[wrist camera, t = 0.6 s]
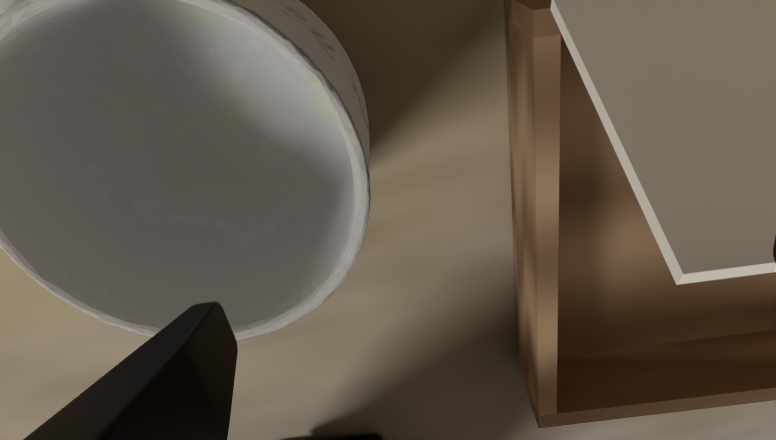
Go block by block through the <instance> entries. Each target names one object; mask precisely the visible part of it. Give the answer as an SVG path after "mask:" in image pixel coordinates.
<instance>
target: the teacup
mask: <svg viewBox="0 0 776 440" xmlns="http://www.w3.org/2000/svg"><path fill="white" fill-rule="evenodd" d="M0 13H1V15H0V247H1V248H2V249H3V250H4V251H5V252H6V253H7V255H8V256H9V257H10V258H11V259H12V260H13V261H14V262H15V263H16V264H17V265H18V266H19V267H20V268H21V269H23V270H24V271H25V272H26V273H27V274H28V275H29V276H30V277H31V278H33V279H34V280H35V281H36V282H38V283H39V284H40V285H41V286H42V287H44V288H45V289H46V290H48V291H49V292H51V293H53V294H54V295H56V296H57V297H59V298H60V299H62V300H64V301H65V302H67V303H68V304H70V305H72V306H73V307H75V308H77V309H78V310H80V311H82V312H85V313H87V314H89V315H91V316H93V317H95V318H97V319H99V320H101V321H103V322H106V323H108V324H110V325H113V326H116V327H119V328H122V329H125V330H128V331H131V332H134V333H138V334H142V335H145V336H149V337H153V336H154V335H155V334H157V333H158V332H159V331H160V330H162V329H163V328H164V327H166V326H167V325H168V324H169V323H171V322H172V321H173V320H174V319H176V318H177V317H178V316H179V315H181V314H182V313H183V312H184V311H186V310H187V309H188V308H189V307H191V306H192V305H194V304H199V303H205V302H211V301H217V302H219V303H220V304H221V305H222V307H223V309H224V311H225V314H226V316H227V319H228V321H229V323H230V326H231V328H232V331H233V333H234V336H235V338H236V340H237V339H245V338H248V337H252V336H256V335H260V334H264V333H268V332H272V331H275V330H279V329H282V328H284V327H285V326H286V325H287V324H290V323H292V322H294V321H296V320H298V319H300V318H302V317H303V316H305V315H306V314H308V313H309V312H311V311H312V310H314V309H315V308H317V307H318V306H319V305H320V304H322V303H323V302H324V301H325V300H326V299H327V298H328V297H329V296H330V295H331V294H332V293H333V292H334V291H335V290H336V289H337V288H338V287H339V286H340V285H341V283H342V282H343V280H344V279H345V277H346V276H347V274H348V273H349V271H350V269H351V267H352V265H353V264H354V262H355V260H356V258H357V256H358V253H359V250H360V248H361V247H362V241H363V238H364V234H365V231H366V228H367V223H368V217H369V210H370V177H369V158H370V138H369V122H368V114H367V108H366V102H365V99H364V95H363V91H362V88H361V84H360V81H359V78H358V76H357V73H356V71H355V69H354V67H353V65H352V63H351V61H350V59H349V57H348V55H347V53H346V51H345V50H344V48H343V47H342V45H341V44H340V42H339V41H338V39H337V38H336V37H335V35H334V34H333V32H332V31H331V30H330V29H329V28H328V27H327V26H326V25H325V23H324V22H323V21H322V20H321V19H320V18H319V17H318V16H317V15H316V14H315V13H314V12H313V11H312V10H311V9H310V8H308V7H307V6H306V5H305V4H304V3H302V2H301V1H300V0H0Z"/></svg>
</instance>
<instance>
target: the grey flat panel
mask: <svg viewBox="0 0 776 440" xmlns="http://www.w3.org/2000/svg"><path fill="white" fill-rule="evenodd" d="M550 10H551V12H552V14H553V17H554V19H555V21H556V23H557V25H558V27H559V30H560V32H561V34H562V36H563V38H564V41H565V43H566V45H567V47H568V49H569V51H570V54H571V56H572V58H573V60H574V62H575V65H576V67H577V69H578V71H579V73H580V75H581V78H582V80H583V82H584V84H585V86H586V89H587V91H588V93H589V95H590V97H591V99H592V102H593V104H594V106H595V108H596V110H597V113H598V115H599V117H600V119H601V121H602V123H603V126H604V128H605V130H606V132H607V134H608V137H609V139H610V141H611V143H612V145H613V147H614V150H615V152H616V154H617V156H618V158H619V161H620V163H621V165H622V167H623V169H624V171H625V174H626V176H627V178H628V180H629V182H630V185H631V187H632V189H633V191H634V193H635V195H636V198H637V200H638V202H639V204H640V206H641V209H642V211H643V213H644V215H645V217H646V219H647V222H648V224H649V226H650V228H651V230H652V233H653V235H654V237H655V239H656V241H657V243H658V246H659V248H660V250H661V252H662V254H663V257H664V259H665V261H666V263H667V265H668V267H669V270H670V272H671V274H672V276H673V278H674V281H675V283H676V285H679V284H687V283H695V282H702V281H710V280H718V279H726V278H733V277H741V276H749V275H756V274H764V273H772V272H776V263H775V261H774V257H773V246H774V241H775V235H776V0H552V1H551V8H550Z"/></svg>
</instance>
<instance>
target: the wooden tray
mask: <svg viewBox="0 0 776 440" xmlns="http://www.w3.org/2000/svg"><path fill="white" fill-rule="evenodd" d="M551 1H552V0H504V3H505V30H506V57H507V84H508V111H509V137H510V164H511V191H512V218H513V245H514V272H515V298H516V325H517V352H518V366H519V369H520V372H521V375H522V378H523V381H524V384H525V388H526V391H527V394H528V397H529V400H530V403H531V406H532V409H533V412H534V415H535V418H536V421H537V424H538V427H539V428H544V427H552V426H561V425H569V424H578V423H586V422H594V421H603V420H611V419H620V418H628V417H637V416H645V415H654V414H662V413H671V412H679V411H687V410H696V409H704V408H713V407H721V406H730V405H738V404H747V403H755V402H764V401H772V400H776V272H772V273H764V274H756V275H749V276H741V277H733V278H726V279H718V280H710V281H702V282H695V283H687V284H679V285H676V283H675V281H674V278H673V276H672V274H671V272H670V270H669V267H668V265H667V263H666V261H665V259H664V257H663V254H662V252H661V250H660V248H659V246H658V243H657V241H656V239H655V237H654V235H653V233H652V230H651V228H650V226H649V224H648V222H647V219H646V217H645V215H644V213H643V211H642V209H641V206H640V204H639V202H638V200H637V198H636V195H635V193H634V191H633V189H632V187H631V185H630V182H629V180H628V178H627V176H626V174H625V171H624V169H623V167H622V165H621V163H620V161H619V158H618V156H617V154H616V152H615V150H614V147H613V145H612V143H611V141H610V139H609V137H608V134H607V132H606V130H605V128H604V126H603V123H602V121H601V119H600V117H599V115H598V113H597V110H596V108H595V106H594V104H593V102H592V99H591V97H590V95H589V93H588V91H587V89H586V86H585V84H584V82H583V80H582V78H581V75H580V73H579V71H578V69H577V67H576V65H575V62H574V60H573V58H572V56H571V54H570V51H569V49H568V47H567V45H566V43H565V41H564V38H563V36H562V34H561V32H560V30H559V27H558V25H557V23H556V21H555V19H554V17H553V14H552V12H551V10H550V8H551Z"/></svg>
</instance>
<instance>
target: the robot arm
mask: <svg viewBox="0 0 776 440" xmlns="http://www.w3.org/2000/svg"><path fill="white" fill-rule="evenodd" d="M773 257H774V261H775V263H776V235H775V241H774V246H773ZM236 361H237V342H236V338H235V336H234V333H233V331H232V328H231V326H230V323H229V321H228V319H227V316H226V314H225V311H224V309H223V307H222V305H221V304H220V303H219V302H217V301H211V302H205V303H199V304H194V305H192V306H191V307H189V308H188V309H187V310H186V311H184V312H183V313H182V314H181V315H179V316H178V317H177V318H176V319H174V320H173V321H172V322H171V323H169V324H168V325H167V326H166V327H164V328H163V329H162V330H160V331H159V332H158V333H157V334H155V335H154V336H153V337H152V338H150V339H149V340H148V341H147V342H145V343H144V344H143V345H142V346H140V347H139V348H138V349H137V350H135V351H134V352H133V353H132V354H130V355H129V356H128V357H127V358H125V359H124V360H123V361H122V362H120V363H119V364H118V365H116V366H115V367H114V368H113V369H111V370H110V371H109V372H108V373H106V374H105V375H104V376H103V377H101V378H100V379H99V380H98V381H96V382H95V383H94V384H93V385H91V386H90V387H89V388H88V389H86V390H85V391H84V392H83V393H81V394H80V395H79V396H78V397H76V398H75V399H74V400H72V401H71V402H70V403H69V404H67V405H66V406H65V407H64V408H62V409H61V410H60V411H59V412H57V413H56V414H55V415H54V416H52V417H51V418H50V419H49V420H47V421H46V422H45V423H44V424H42V425H41V426H40V427H39V428H37V429H36V430H35V431H34V432H32V433H31V434H30V435H28V436H27V437H26V438H25V439H23V440H227V436H228V429H229V422H230V414H231V405H232V396H233V387H234V378H235V370H236ZM334 440H383V439H382V438H381V437H380V436H378V435H368V436H359V437H351V438H342V439H334Z"/></svg>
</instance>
